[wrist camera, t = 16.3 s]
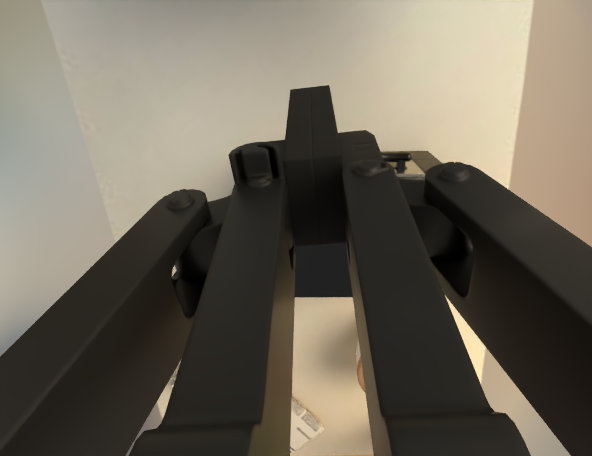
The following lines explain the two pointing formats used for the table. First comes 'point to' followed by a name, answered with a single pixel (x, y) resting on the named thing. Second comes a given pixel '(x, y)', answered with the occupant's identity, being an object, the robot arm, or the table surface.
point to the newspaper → (300, 425)
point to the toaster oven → (333, 257)
